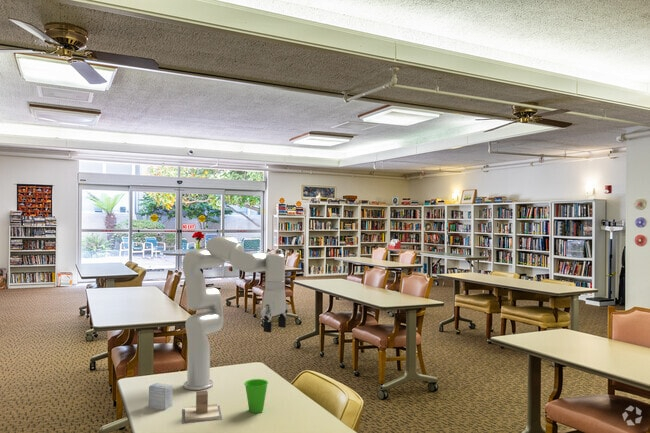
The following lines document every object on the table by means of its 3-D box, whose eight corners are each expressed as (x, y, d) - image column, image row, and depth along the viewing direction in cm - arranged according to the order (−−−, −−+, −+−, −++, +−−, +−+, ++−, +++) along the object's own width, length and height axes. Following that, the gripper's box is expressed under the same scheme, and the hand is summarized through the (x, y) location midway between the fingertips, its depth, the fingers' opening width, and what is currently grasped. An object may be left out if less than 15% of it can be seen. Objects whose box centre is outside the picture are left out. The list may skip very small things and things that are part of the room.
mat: (182, 410, 184) (182, 409, 184) (219, 406, 188) (219, 405, 188) (182, 425, 171) (182, 423, 171) (222, 420, 175) (222, 419, 175)
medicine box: (172, 407, 187) (172, 384, 187) (165, 411, 183) (165, 388, 183) (155, 404, 190) (156, 382, 190) (148, 408, 186) (148, 385, 186)
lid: (184, 409, 183) (185, 388, 183) (217, 406, 187) (217, 385, 187) (185, 422, 172) (185, 399, 172) (219, 418, 175) (219, 396, 175)
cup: (263, 417, 178) (263, 387, 178) (240, 415, 180) (240, 385, 180) (271, 408, 187) (271, 379, 187) (249, 406, 188) (249, 378, 189)
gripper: (279, 282, 197) (279, 324, 197) (253, 287, 182) (253, 332, 181) (295, 283, 193) (294, 326, 193) (270, 288, 178) (269, 335, 178)
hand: (274, 329), depth 187 cm, fingers open, 9 cm apart
